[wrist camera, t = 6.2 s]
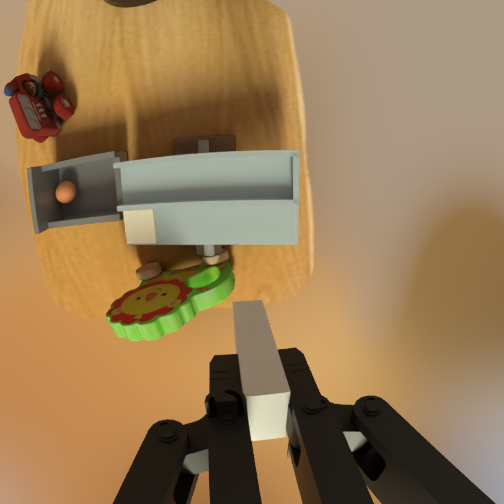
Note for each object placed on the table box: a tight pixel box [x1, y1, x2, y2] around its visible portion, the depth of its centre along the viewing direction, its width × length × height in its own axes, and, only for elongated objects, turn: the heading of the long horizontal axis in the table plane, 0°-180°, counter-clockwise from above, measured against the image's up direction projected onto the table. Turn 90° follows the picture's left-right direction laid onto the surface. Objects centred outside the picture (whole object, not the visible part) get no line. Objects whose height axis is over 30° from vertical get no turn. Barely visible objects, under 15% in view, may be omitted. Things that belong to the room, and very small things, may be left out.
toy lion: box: [106, 248, 235, 341], centre depth 34 cm, size 16×5×15 cm, turn 101°
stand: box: [174, 135, 236, 255], centre depth 35 cm, size 15×8×6 cm, turn 1°
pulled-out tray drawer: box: [27, 151, 128, 234], centre depth 32 cm, size 9×12×8 cm
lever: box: [113, 140, 299, 256], centre depth 30 cm, size 13×20×3 cm, turn 91°
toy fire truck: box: [4, 71, 74, 143], centre depth 26 cm, size 7×12×10 cm, turn 28°
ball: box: [56, 181, 76, 203], centre depth 33 cm, size 3×3×3 cm
